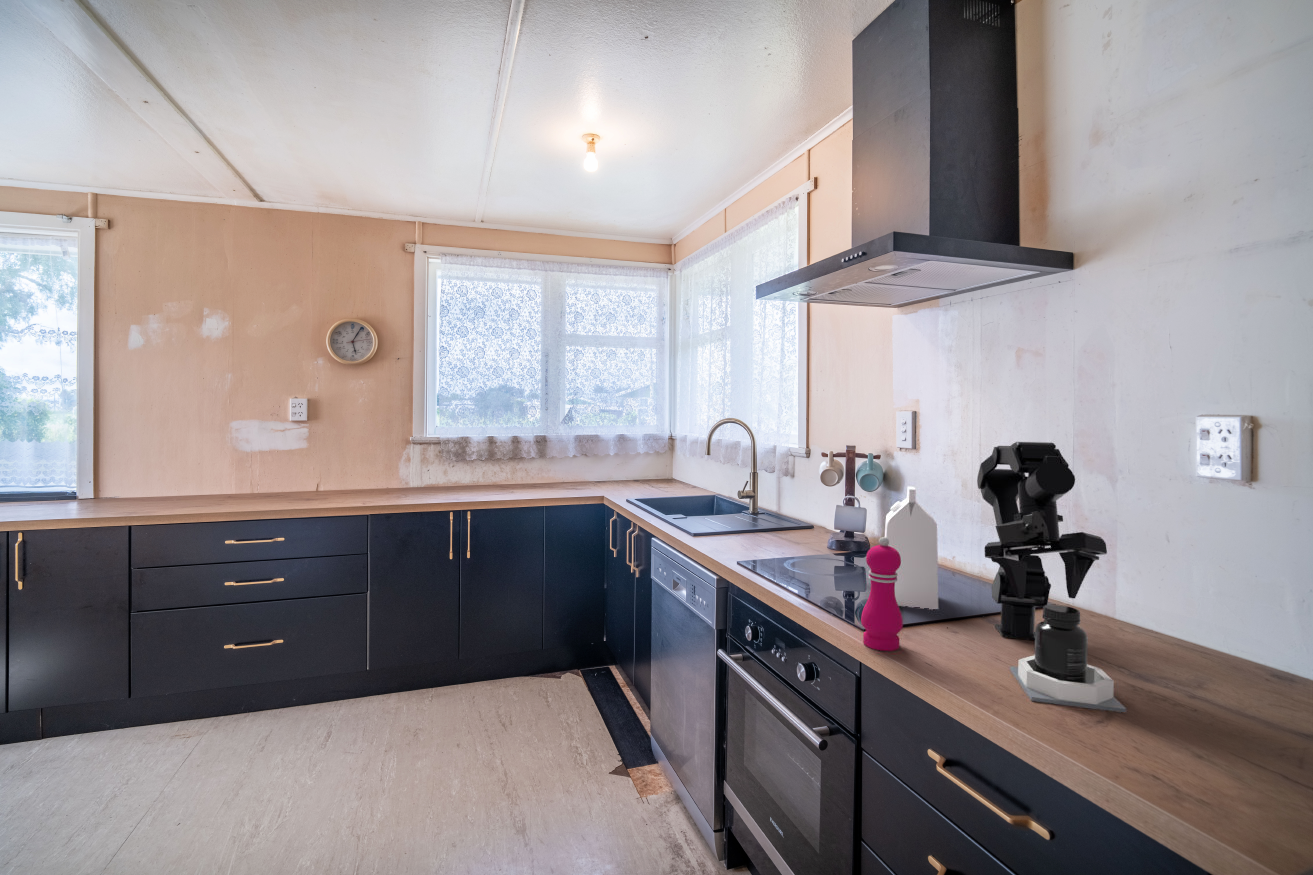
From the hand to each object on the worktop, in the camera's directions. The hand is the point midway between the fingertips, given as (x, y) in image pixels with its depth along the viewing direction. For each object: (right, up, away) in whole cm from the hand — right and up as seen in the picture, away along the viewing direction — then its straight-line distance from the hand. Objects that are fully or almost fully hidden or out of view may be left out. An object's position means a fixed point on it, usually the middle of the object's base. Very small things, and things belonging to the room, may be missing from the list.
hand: (1045, 598), depth 105 cm
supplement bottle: (-4, -11, -9) cm, 15 cm away
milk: (-8, -10, +38) cm, 40 cm away
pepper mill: (-25, -11, +9) cm, 29 cm away
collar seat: (-3, -12, -9) cm, 15 cm away
